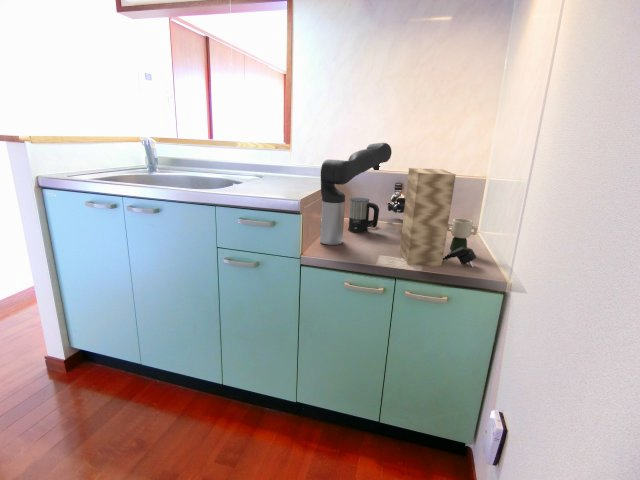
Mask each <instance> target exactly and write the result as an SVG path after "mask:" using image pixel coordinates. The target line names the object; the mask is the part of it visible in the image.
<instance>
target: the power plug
mask: <svg viewBox="0 0 640 480" xmlns="http://www.w3.org/2000/svg"><path fill="white" fill-rule="evenodd" d="M454 258H457V259H458V261H459V263H460V264H462V265H465V264H468V265H469V267H470V268H474V265H473V262H472V261H474V260H475V259H476V258H477V255H476V254H475V251H474V250H473V249H472V248H470V247H467V248H465V247H461V248H458V249H456V250H454V251H451V252H450V253H448V254H446V255H445V256H444V257H443V261H444V260H446V261H448V260H450V259H454Z"/></svg>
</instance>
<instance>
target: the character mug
mask: <svg viewBox="0 0 640 480" xmlns="http://www.w3.org/2000/svg"><path fill="white" fill-rule="evenodd" d="M473 224H474V223H473V220H471V219H469V218H462V217H459V218H458V217H456V218H453V220H452V222H448V228H447V232H451V235H452V237H453V238H452V240H451V244H450V246H449V250H450V251H451V252H453V251H454V250H456V249H458V248H461V247H465V248H468V239H469V238H470V237H471V236H472V235H473V236H476V235H477V233H478V227H477V226H474V225H473ZM450 226H451V228H450ZM472 230H473V232H472Z"/></svg>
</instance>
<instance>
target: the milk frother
mask: <svg viewBox="0 0 640 480" xmlns="http://www.w3.org/2000/svg"><path fill="white" fill-rule="evenodd" d="M370 209H373V219H370V218H369V217H370V216H369V215H370ZM379 214H380V208H379V206H378V204H376V203H374V202H370V198H368V197H359V196H358V197H351V198H349V215H348V217H349V218H348V227H347V228H348V229H347V230H348V231H349V232H352V233H367V232H368V231H369V230H368V228H369V227H371V226H372V228H377V226H378V221H379Z"/></svg>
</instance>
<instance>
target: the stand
mask: <svg viewBox="0 0 640 480" xmlns="http://www.w3.org/2000/svg"><path fill="white" fill-rule="evenodd" d="M407 174H408V175H407V181H406V191H405V208H404V212H403V220H402V229H401V237H400V246H399V252H400V253H401V255H402V257H403V259H404V261H405V263H406V265H408V266H409V265H410V266H411V265H412V266H430V267H431V266H432V267H442V266H443V261H444V260H443V258H444V253H445V248H446V242H447V241H446V240H447V236H448V235H447V233H448V231H447V228H448V223H450V222H449V221H450V215H451V208H452V202H453V194H454V188H455V182H456V177H457V176H456V173H453V172H451V171H448V170H445V169H442V168H439V169H438V168H421V167H420V168H419V167H415V168H414V167H409V168H408V173H407Z"/></svg>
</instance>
